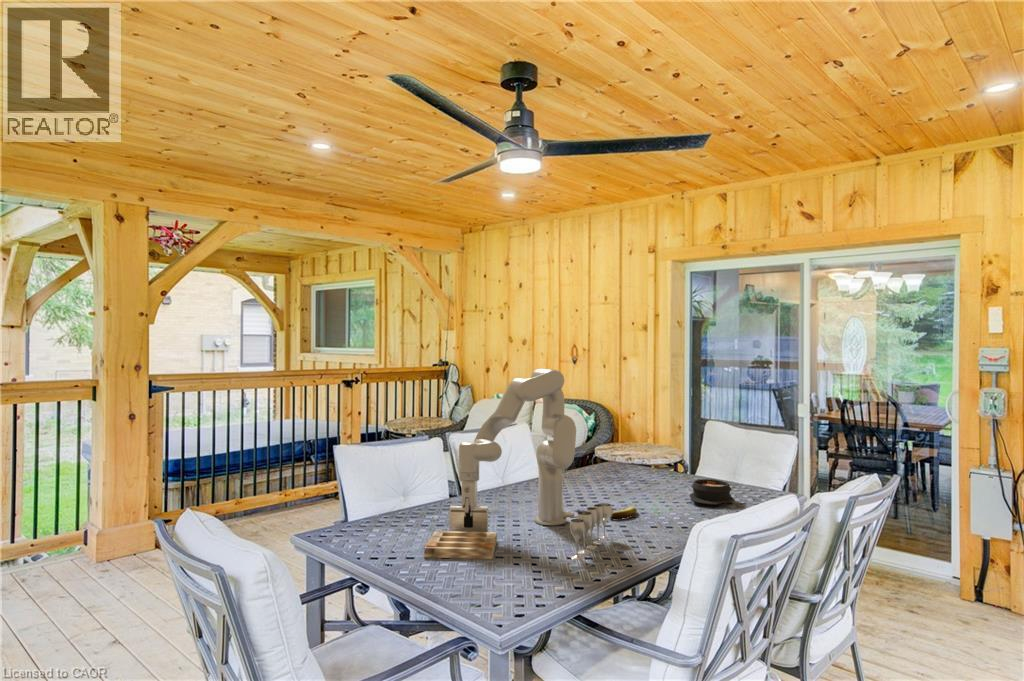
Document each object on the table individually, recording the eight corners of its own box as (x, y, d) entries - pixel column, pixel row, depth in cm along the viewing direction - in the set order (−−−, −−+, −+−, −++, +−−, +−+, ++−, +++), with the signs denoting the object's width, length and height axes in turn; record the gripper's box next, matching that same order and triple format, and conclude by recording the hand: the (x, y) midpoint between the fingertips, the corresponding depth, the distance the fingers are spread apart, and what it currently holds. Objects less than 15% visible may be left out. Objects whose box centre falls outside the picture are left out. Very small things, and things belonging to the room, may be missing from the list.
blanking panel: (488, 532, 218) (488, 506, 218) (487, 534, 215) (487, 508, 215) (450, 531, 218) (450, 505, 219) (449, 533, 216) (449, 507, 216)
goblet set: (582, 561, 189) (582, 519, 189) (565, 558, 192) (565, 517, 192) (615, 537, 213) (615, 500, 213) (600, 534, 216) (600, 498, 216)
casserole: (699, 493, 278) (699, 475, 279) (740, 499, 268) (740, 480, 268) (680, 504, 258) (680, 485, 258) (724, 511, 247) (724, 491, 247)
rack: (496, 540, 208) (496, 531, 208) (491, 559, 190) (491, 548, 190) (435, 539, 210) (435, 530, 210) (424, 557, 192) (424, 547, 192)
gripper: (476, 480, 209) (476, 533, 209) (481, 471, 225) (481, 519, 225) (455, 480, 209) (455, 532, 209) (462, 471, 225) (462, 519, 225)
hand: (468, 525), depth 217 cm, fingers closed on blanking panel, 2 cm apart
